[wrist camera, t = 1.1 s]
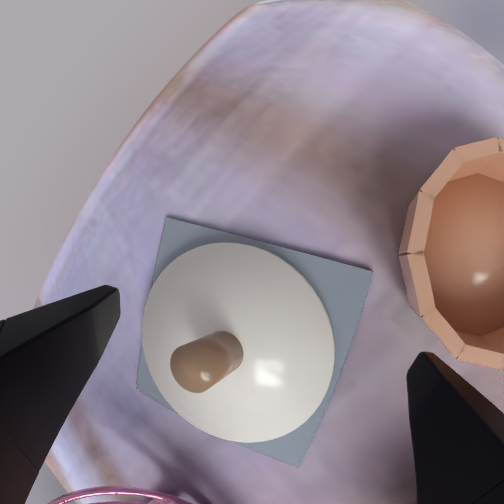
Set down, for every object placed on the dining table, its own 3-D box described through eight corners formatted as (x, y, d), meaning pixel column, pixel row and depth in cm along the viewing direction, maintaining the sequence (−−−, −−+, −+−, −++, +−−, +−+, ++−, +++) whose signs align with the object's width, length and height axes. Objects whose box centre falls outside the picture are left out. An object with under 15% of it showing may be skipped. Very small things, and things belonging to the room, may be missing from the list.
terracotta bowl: (518, 356, 16) (549, 379, 11) (378, 320, 21) (381, 340, 16) (550, 195, 15) (585, 180, 10) (415, 147, 20) (427, 113, 15)
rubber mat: (299, 464, 23) (298, 467, 22) (139, 387, 30) (136, 388, 29) (372, 271, 22) (373, 271, 21) (169, 217, 29) (166, 217, 28)
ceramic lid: (295, 462, 23) (274, 503, 17) (140, 387, 29) (99, 405, 23) (365, 276, 21) (364, 281, 16) (169, 223, 28) (123, 215, 22)
